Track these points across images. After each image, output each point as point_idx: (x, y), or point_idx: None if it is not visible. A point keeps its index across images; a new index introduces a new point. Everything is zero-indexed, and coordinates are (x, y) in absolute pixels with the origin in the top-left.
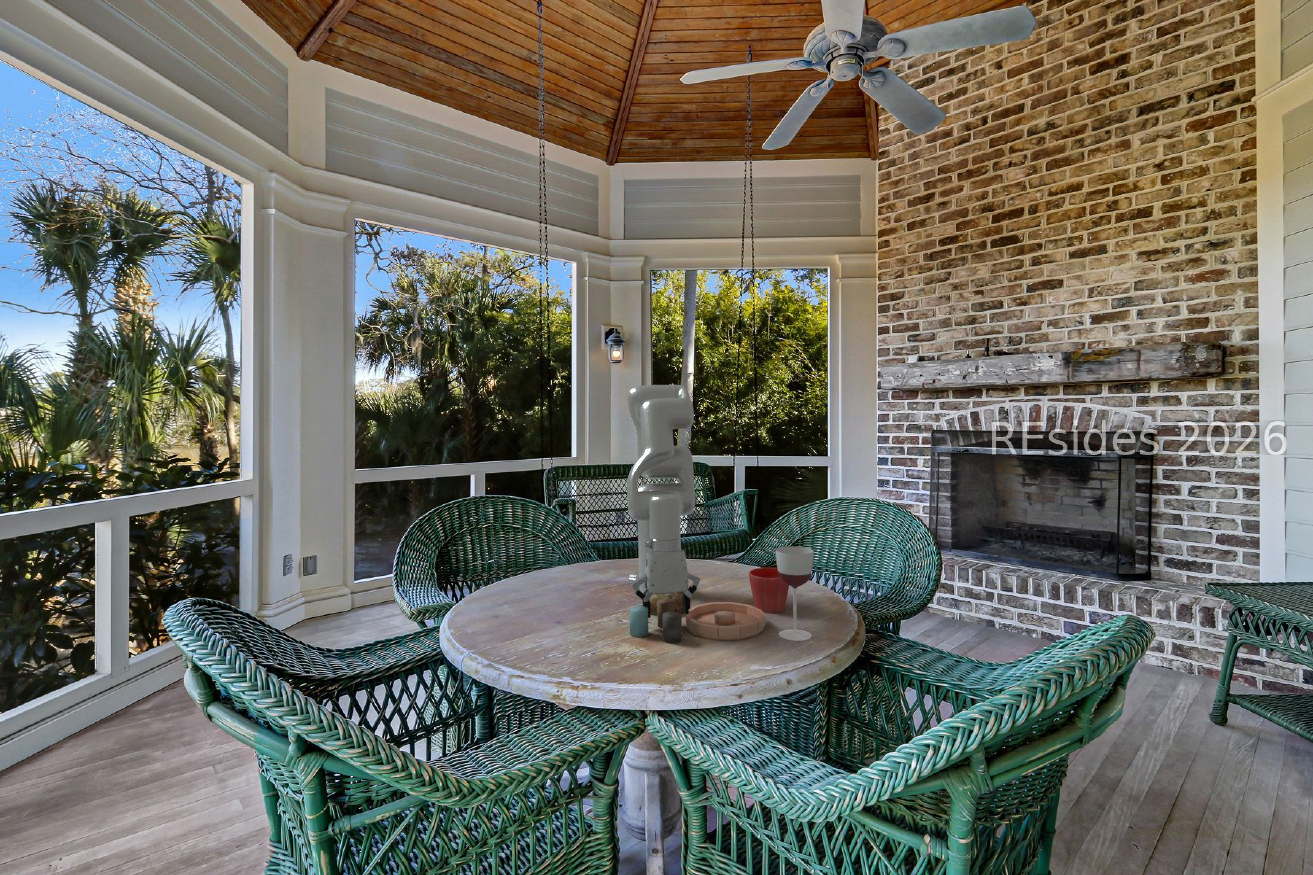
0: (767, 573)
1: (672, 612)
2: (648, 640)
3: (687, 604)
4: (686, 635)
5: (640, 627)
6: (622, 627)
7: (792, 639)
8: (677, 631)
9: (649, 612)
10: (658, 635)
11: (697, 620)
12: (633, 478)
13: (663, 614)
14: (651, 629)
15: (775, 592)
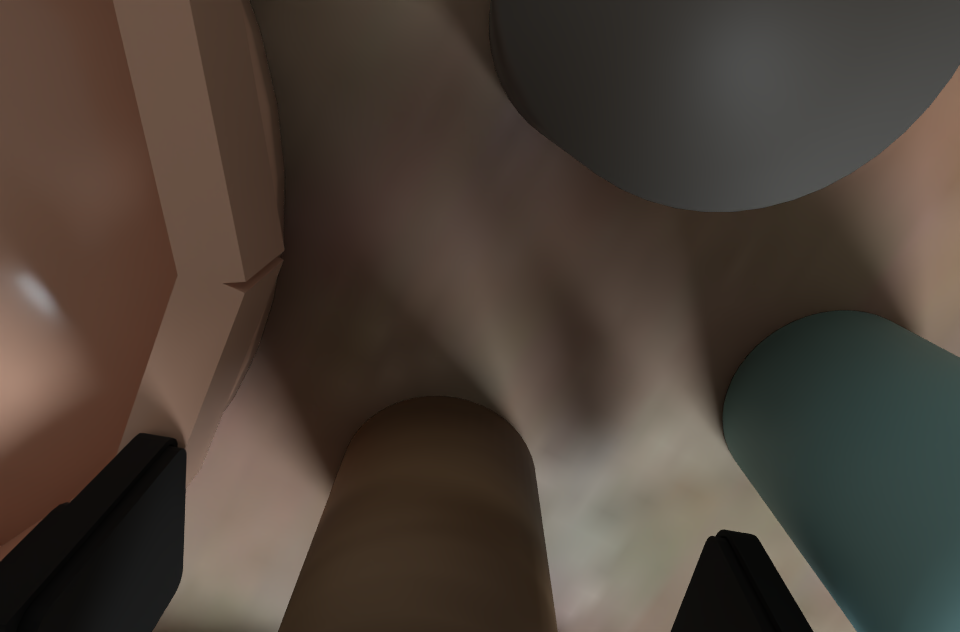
0: None
1: (643, 117)
2: (869, 168)
3: (73, 526)
4: (375, 88)
5: (954, 355)
6: (849, 625)
7: None
8: None
9: (759, 583)
10: (675, 260)
11: (71, 380)
12: None
13: (912, 90)
14: (638, 457)
15: None
